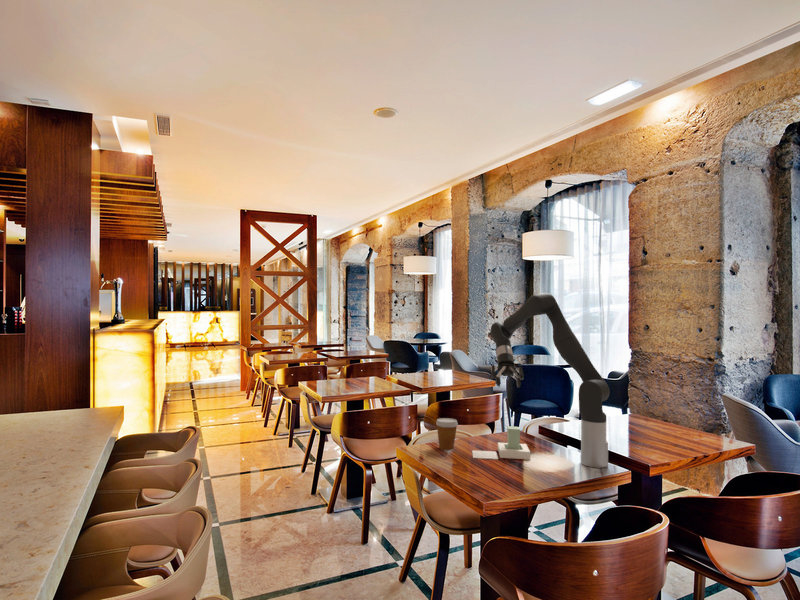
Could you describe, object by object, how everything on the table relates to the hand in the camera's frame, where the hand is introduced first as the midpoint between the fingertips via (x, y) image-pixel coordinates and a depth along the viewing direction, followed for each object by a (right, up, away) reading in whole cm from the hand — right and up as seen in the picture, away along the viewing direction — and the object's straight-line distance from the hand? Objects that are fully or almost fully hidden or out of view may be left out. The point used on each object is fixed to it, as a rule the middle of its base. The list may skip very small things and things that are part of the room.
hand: (508, 386), depth 206 cm
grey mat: (-13, -26, -14) cm, 32 cm away
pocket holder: (-1, -26, -11) cm, 29 cm away
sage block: (-1, -26, -11) cm, 29 cm away
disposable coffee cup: (-28, -26, -4) cm, 39 cm away
